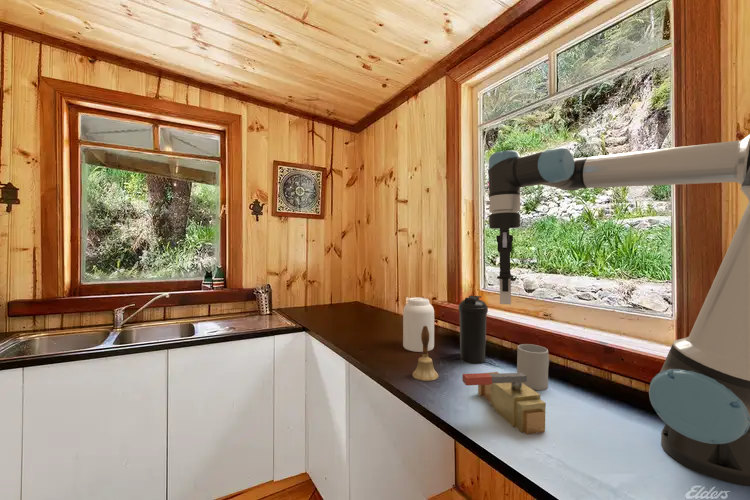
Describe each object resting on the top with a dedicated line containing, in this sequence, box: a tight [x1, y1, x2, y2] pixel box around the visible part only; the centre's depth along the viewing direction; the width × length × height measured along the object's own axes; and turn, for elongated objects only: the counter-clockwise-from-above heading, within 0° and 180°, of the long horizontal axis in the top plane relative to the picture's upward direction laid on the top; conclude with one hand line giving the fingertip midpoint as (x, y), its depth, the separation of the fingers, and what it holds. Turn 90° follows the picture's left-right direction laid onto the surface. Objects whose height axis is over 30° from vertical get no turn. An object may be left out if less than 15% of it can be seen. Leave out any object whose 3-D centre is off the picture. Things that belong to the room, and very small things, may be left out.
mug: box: [516, 343, 550, 391], centre depth 100 cm, size 12×8×11 cm
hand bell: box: [411, 326, 439, 382], centre depth 105 cm, size 8×8×16 cm
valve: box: [477, 371, 547, 435], centre depth 84 cm, size 20×7×7 cm, turn 12°
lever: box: [462, 372, 527, 391], centre depth 80 cm, size 15×2×4 cm, turn 95°
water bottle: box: [458, 295, 489, 365], centre depth 119 cm, size 10×10×23 cm
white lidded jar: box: [402, 297, 435, 353], centre depth 133 cm, size 12×12×20 cm
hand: (505, 303), depth 85 cm, fingers closed
